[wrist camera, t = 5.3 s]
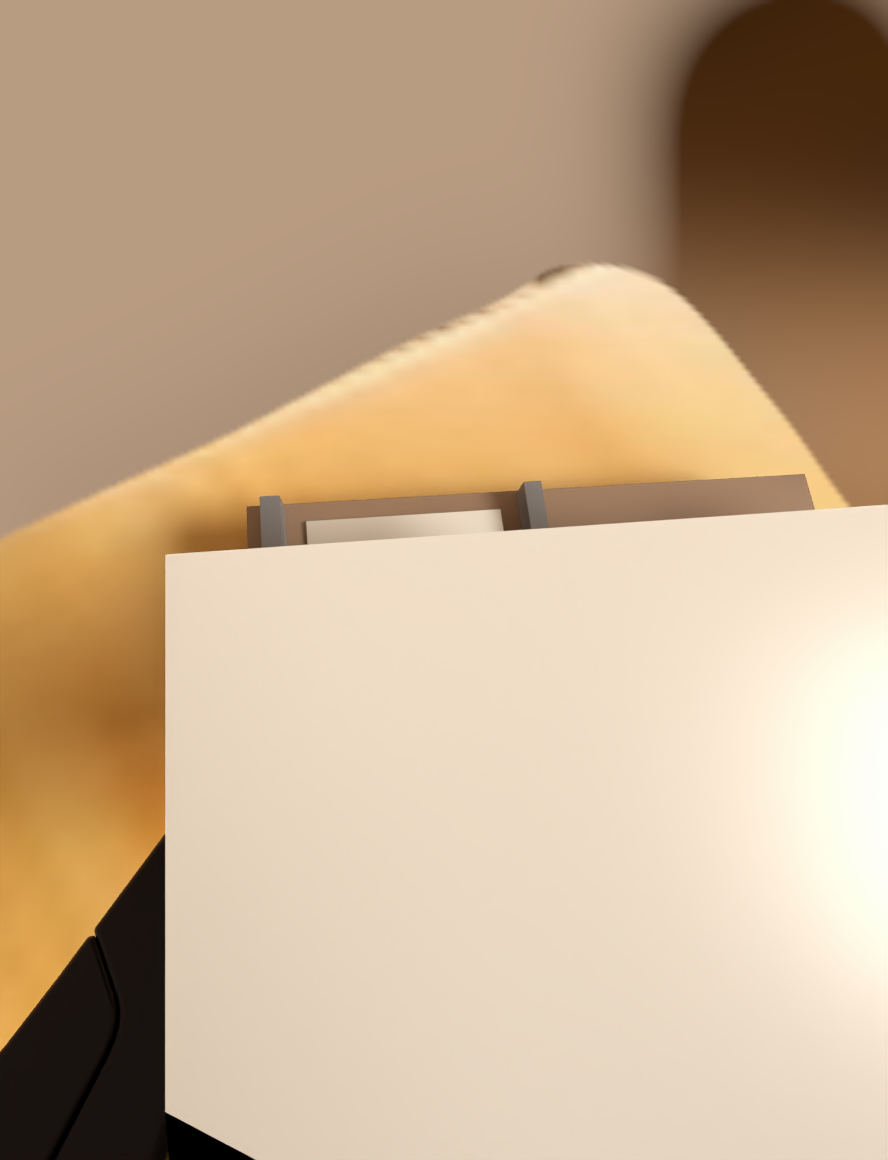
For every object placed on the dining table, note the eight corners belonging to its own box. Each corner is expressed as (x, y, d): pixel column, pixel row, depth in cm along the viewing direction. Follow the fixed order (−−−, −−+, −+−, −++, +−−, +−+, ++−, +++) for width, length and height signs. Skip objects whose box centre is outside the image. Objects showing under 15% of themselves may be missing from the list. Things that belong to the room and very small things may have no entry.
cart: (563, 841, 14) (1532, 1488, 2) (336, 877, 13) (43, 2173, 1) (534, 650, 15) (1097, 427, 3) (323, 672, 14) (96, 474, 3)
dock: (792, 658, 23) (879, 646, 19) (271, 717, 20) (246, 717, 16) (752, 503, 24) (825, 462, 20) (264, 535, 21) (239, 494, 17)
